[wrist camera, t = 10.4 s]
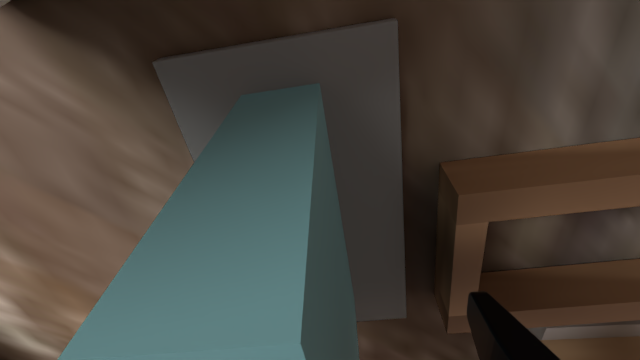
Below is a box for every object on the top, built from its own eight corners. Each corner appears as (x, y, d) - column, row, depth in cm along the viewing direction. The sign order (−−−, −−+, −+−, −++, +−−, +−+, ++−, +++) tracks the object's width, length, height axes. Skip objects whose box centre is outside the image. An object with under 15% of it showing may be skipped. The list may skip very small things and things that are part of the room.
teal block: (319, 83, 10) (300, 342, 3) (354, 299, 15) (376, 569, 8) (241, 95, 10) (56, 361, 3) (303, 303, 15) (283, 569, 8)
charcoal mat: (404, 308, 16) (406, 317, 16) (265, 319, 17) (264, 328, 16) (394, 18, 9) (397, 20, 9) (159, 58, 10) (151, 61, 9)
